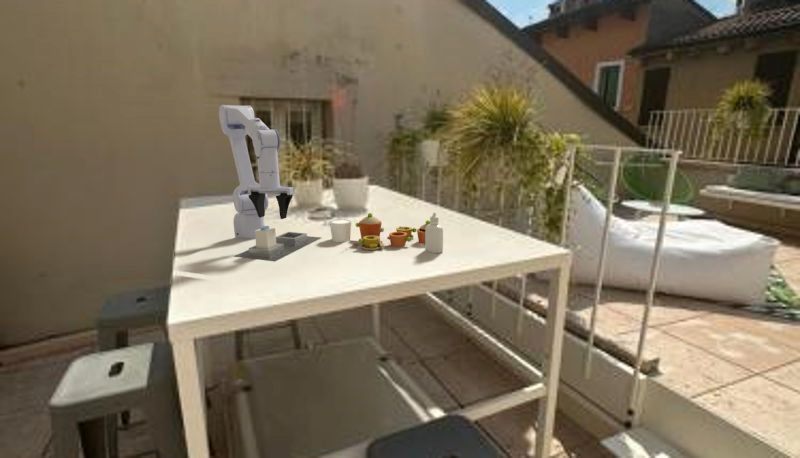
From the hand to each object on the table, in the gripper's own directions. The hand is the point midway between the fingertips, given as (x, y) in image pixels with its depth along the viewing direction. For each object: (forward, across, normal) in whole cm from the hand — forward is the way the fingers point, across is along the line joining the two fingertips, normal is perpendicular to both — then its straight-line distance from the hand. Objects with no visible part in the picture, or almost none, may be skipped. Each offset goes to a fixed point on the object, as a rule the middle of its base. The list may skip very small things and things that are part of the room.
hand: (272, 217), depth 127 cm
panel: (+10, +1, +2) cm, 10 cm away
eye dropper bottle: (+11, +46, +14) cm, 49 cm away
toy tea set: (+11, +32, +20) cm, 39 cm away
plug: (+9, +1, -5) cm, 11 cm away
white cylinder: (+11, +15, +15) cm, 24 cm away
